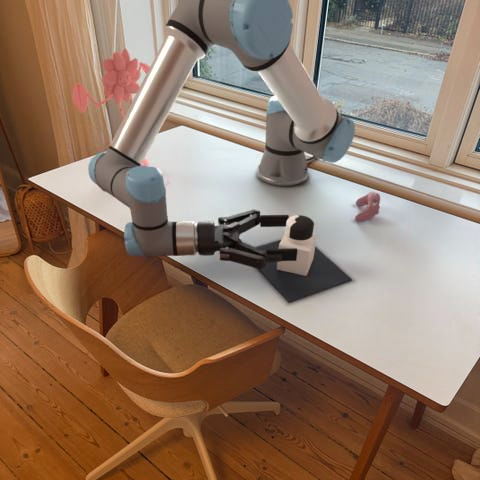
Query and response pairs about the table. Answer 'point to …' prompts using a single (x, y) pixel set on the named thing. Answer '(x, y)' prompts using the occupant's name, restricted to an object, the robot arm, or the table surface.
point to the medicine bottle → (298, 244)
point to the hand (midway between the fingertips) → (292, 236)
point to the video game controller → (368, 206)
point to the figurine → (115, 83)
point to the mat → (300, 286)
